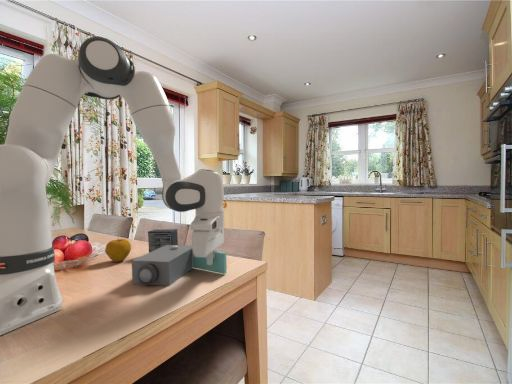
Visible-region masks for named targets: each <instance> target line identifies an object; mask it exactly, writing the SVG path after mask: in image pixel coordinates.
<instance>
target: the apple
mask: <svg viewBox="0 0 512 384" xmlns="http://www.w3.org/2000/svg"><path fill="white" fill-rule="evenodd" d="M131 250H132V245H131V243H130V241H129V240H128V239H126V238H118V239H113V240H110V241H109V242H107V244H106V246H105V249H104V251H105V253H106V255H107V257H108V258H109V259H110V260H111V261H112V262H115V263H117V262H118V263H119V262H123V261H125V259H127V257H128V256H129V254H130V252H131Z"/></svg>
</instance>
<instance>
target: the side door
mask: <svg viewBox="0 0 512 384" xmlns="http://www.w3.org/2000/svg"><path fill="white" fill-rule="evenodd" d="M192 261H193V268H192V269H199V270H203V271H208V272H211V273H212V272H213V273H218V274H222V275H225V274H227V268H228V267H227V253H226V252H224V251H223V252H222V251H217V250H216V252H215V257H214V263H213V264H212V265H207V259H206V257H195V256H194V254H193V248H192Z"/></svg>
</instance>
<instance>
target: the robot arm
mask: <svg viewBox="0 0 512 384" xmlns="http://www.w3.org/2000/svg"><path fill="white" fill-rule="evenodd" d="M84 95H85V96H87V97H92V98H97V99H102V100H107V101H109V100H110V101H111V100H116V99H118V98H120V97H121V98H122V99H124V101H125V102H126V104H127V106H128V108H129V111H130V114H131V115H130V116H131V118H132V120H133V122H134V125H135V127H136V129H137V131H138V133H139V135H140V137H141V138H142V139H143V141H144V142H145V145H147V148H148V149H149V151H150V152H151V154H152V157H153V158H154V161H155V163H156V167H157V169H158V172H159V175H160V178H161V181H162V192H161V199H162V201H163V203H164V205H165V207H167V208H168V209H169V210H172V211H175V212H178V213H185V212H189V211H193V210H195V217H194V219H193V220H192V221H191V223H190V231H192V233H191V246H192V248H193V254H194V256H195V257H206V259H207V265H212V264H213V263H214V257H215V252H216V251H217V249H218V248H219V247H221V246H222V245H223V244H224V242H225V230H224V226H225V210H224V209H225V208H224V205H223V204H224V198H225V197H224V196H225V191H224V189H225V188H224V182H223V181H224V180H223V177H222V175H221V174H220V173H219V172H218V171H216V170H211V169H205V168H202V169H201V168H200V169H198V170H197V171H195V172H194V173H192V174H191V175H188V176H186V177H184V178H183V176H182V174H181V172H180V167H179V165H178V162H177V159H176V155H175V150H174V149H175V148H174V145H175V135H176V134H175V133H176V125H175V120H174V114H173V112H172V108H171V105H170V102H169V100H168V98H167V95H166V93H165V91H164V89H163V87H162V85H161V83H160V82H159V80H158V77H156V76H155V75H154V74H153V73H152V72H149V71H144V70H142V71H141V70H140V71H136V65H135V63H134V62H133V61H132V60H131V59H130V58H129V57H128V56H127V55H126V54H125V53H124V52H123V50H122V49H121V48H120V47H119V45H117V44H116V43H115V42H113V41H112V40H111V39H108V38H106V37H102V36H92V37H91V36H90V37H88V38H87V39H85V40H84V41H83V42H82V43H81V45H80V47H79V49H78V53H77V59H73V58H71V59H70V58H69V57H66V56H64V55H61V54H59V53H49V54H44V55H43V56H42V57H41V58H40V59H39V60H38V62H37V63H36V64H35V66H34V67H33V68H32V70H31V71H30V73H29V74H28V76H27V78H26V79H25V82H24V84H23V86H22V87H21V90H20V92H19V95H18V96H17V99H16V101H15V103H14V106H13V108H12V110H11V111H10V114H9V116H8V117H9V120H8V121H9V122H8V127H7V133H6V137H5V141H4V143H3V144H0V336H2V335H5V334H7V333H10V332H11V331H14V330H16V329H19V328H21V327H23V326H26V325H28V324H30V323H33V322H35V321H37V320H39V319H42V318H45V317H47V316H49V315H51V314H53V313H55V312H58V311H60V310H62V302H63V301H64V299H63V297H62V294H61V292H60V288H59V285H58V282H57V277H56V274H55V273H56V272H55V267H54V262H55V261H56V260H55V259H56V257H55V248H54V246H53V243H52V242H53V239H52V222H51V213H50V209H49V204H48V198H47V197H48V195H47V188H46V186H47V185H48V183H49V182H50V180H51V178H52V175H53V174H54V173H53V172H54V170H55V167H56V165H57V162H58V159H59V155H60V152H61V149H62V146H63V142H64V139H65V136H66V134H67V132H68V129H69V127H70V125H71V122H72V120H73V118H74V115H75V113H76V111H77V107H79V102H80V101H81V99H82V97H83V96H84Z"/></svg>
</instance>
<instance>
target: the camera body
mask: <svg viewBox="0 0 512 384" xmlns="http://www.w3.org/2000/svg"><path fill="white" fill-rule="evenodd" d="M192 269H194V268H193V261H192V244H191V245H182V244H178V245H165V246H163V247H161V248H158V249H156V250H154V251H152V252H150V253H149V252H148V253H144V254H142V255H141V256H139V257H136V258H135V259H132V260H131V276H132V277H131V278H132V280H131V281H132V284H133V285H145V286H150V285H152V286H168V287H169V286H171V285H173V284H174V283H175V282H176V281H178V280H179V279H180V278H182V277H183V276H184V275H186V274H187V273H188V272H190V271H191V270H192Z"/></svg>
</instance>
